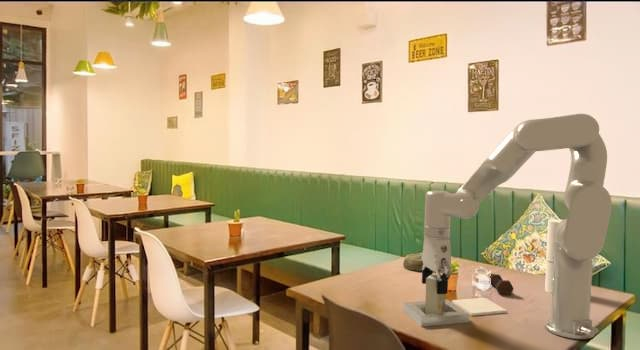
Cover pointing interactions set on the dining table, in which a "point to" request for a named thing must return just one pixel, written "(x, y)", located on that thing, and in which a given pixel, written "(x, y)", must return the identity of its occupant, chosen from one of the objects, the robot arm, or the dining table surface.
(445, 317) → the socket block
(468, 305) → the tile
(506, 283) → the dark brown dumbbell
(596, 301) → the dining table surface
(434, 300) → the grey upright block
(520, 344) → the dining table surface
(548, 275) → the cylindrical container
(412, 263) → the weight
